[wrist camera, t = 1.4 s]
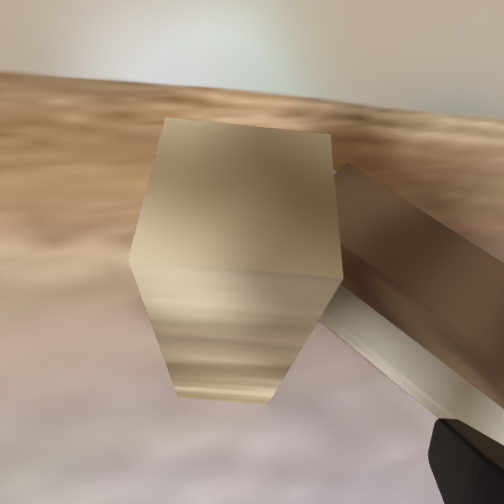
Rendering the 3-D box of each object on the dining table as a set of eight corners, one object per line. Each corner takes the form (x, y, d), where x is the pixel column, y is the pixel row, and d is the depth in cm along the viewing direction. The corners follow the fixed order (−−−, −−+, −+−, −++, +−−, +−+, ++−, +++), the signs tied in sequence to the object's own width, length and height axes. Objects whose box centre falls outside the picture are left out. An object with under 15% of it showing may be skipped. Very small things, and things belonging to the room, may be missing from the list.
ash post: (268, 403, 19) (343, 278, 8) (178, 397, 19) (127, 259, 8) (270, 320, 21) (330, 134, 10) (190, 313, 21) (165, 117, 10)
